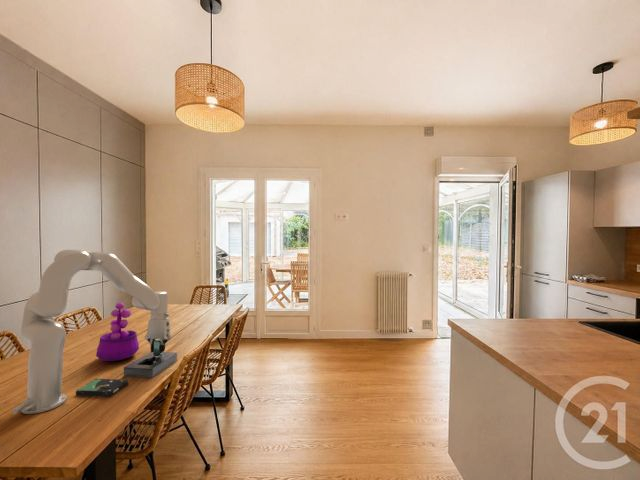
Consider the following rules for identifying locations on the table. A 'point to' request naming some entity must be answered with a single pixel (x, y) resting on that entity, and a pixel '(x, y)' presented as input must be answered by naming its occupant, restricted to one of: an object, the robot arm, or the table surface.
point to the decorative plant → (118, 338)
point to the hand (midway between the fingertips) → (157, 351)
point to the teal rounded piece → (156, 350)
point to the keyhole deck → (150, 371)
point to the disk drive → (102, 387)
